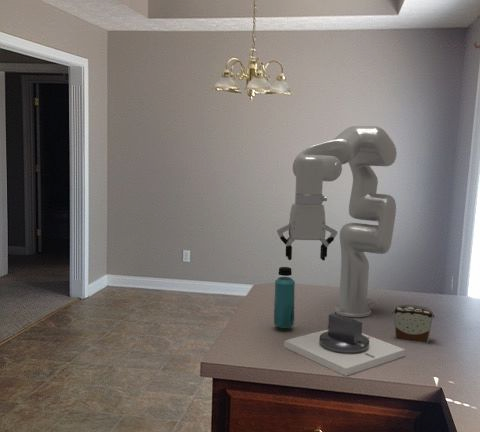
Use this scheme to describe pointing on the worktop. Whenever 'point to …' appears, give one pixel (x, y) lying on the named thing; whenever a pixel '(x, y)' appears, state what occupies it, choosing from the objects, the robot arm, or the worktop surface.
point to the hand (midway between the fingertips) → (306, 259)
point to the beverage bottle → (284, 299)
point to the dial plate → (343, 361)
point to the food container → (412, 323)
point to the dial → (344, 335)
